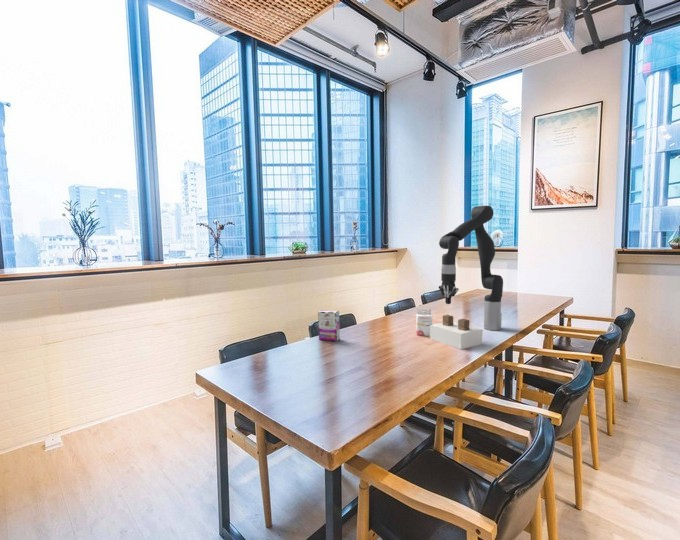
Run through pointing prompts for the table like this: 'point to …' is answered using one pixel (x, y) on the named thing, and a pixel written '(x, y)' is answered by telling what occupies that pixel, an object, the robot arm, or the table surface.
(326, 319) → the candy bar box
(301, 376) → the table surface
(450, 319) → the peg
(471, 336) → the housing
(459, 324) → the peg
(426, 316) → the ink cartridge box
